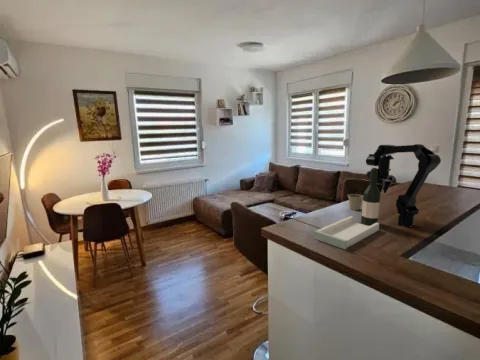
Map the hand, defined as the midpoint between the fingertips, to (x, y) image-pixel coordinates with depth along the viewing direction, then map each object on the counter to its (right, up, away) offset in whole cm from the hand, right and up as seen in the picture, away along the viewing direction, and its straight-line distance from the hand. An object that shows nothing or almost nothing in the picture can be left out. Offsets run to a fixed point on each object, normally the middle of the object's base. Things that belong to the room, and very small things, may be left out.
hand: (381, 194), depth 154 cm
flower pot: (-9, -11, +16) cm, 21 cm away
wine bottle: (-12, -15, -10) cm, 22 cm away
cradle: (-30, -18, -25) cm, 43 cm away
